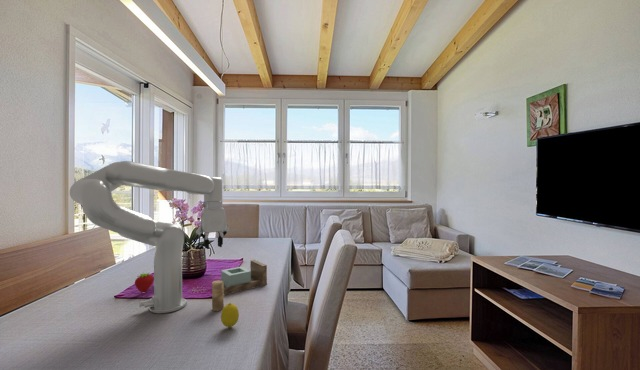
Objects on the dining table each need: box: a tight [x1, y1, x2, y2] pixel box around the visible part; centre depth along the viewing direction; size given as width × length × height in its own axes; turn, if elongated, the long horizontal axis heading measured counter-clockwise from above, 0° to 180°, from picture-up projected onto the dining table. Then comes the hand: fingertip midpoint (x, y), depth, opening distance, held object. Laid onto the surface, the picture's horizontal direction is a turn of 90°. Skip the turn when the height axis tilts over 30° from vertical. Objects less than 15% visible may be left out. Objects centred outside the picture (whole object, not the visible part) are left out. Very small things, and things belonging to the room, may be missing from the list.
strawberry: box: [134, 272, 154, 293], centre depth 126 cm, size 6×8×10 cm
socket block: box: [220, 266, 251, 287], centre depth 134 cm, size 10×10×6 cm
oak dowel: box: [211, 280, 225, 312], centre depth 110 cm, size 4×4×10 cm
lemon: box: [220, 302, 240, 329], centre depth 95 cm, size 6×6×8 cm
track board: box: [215, 259, 268, 296], centre depth 135 cm, size 20×13×9 cm, turn 128°
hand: (213, 247), depth 128 cm, fingers open, 4 cm apart
